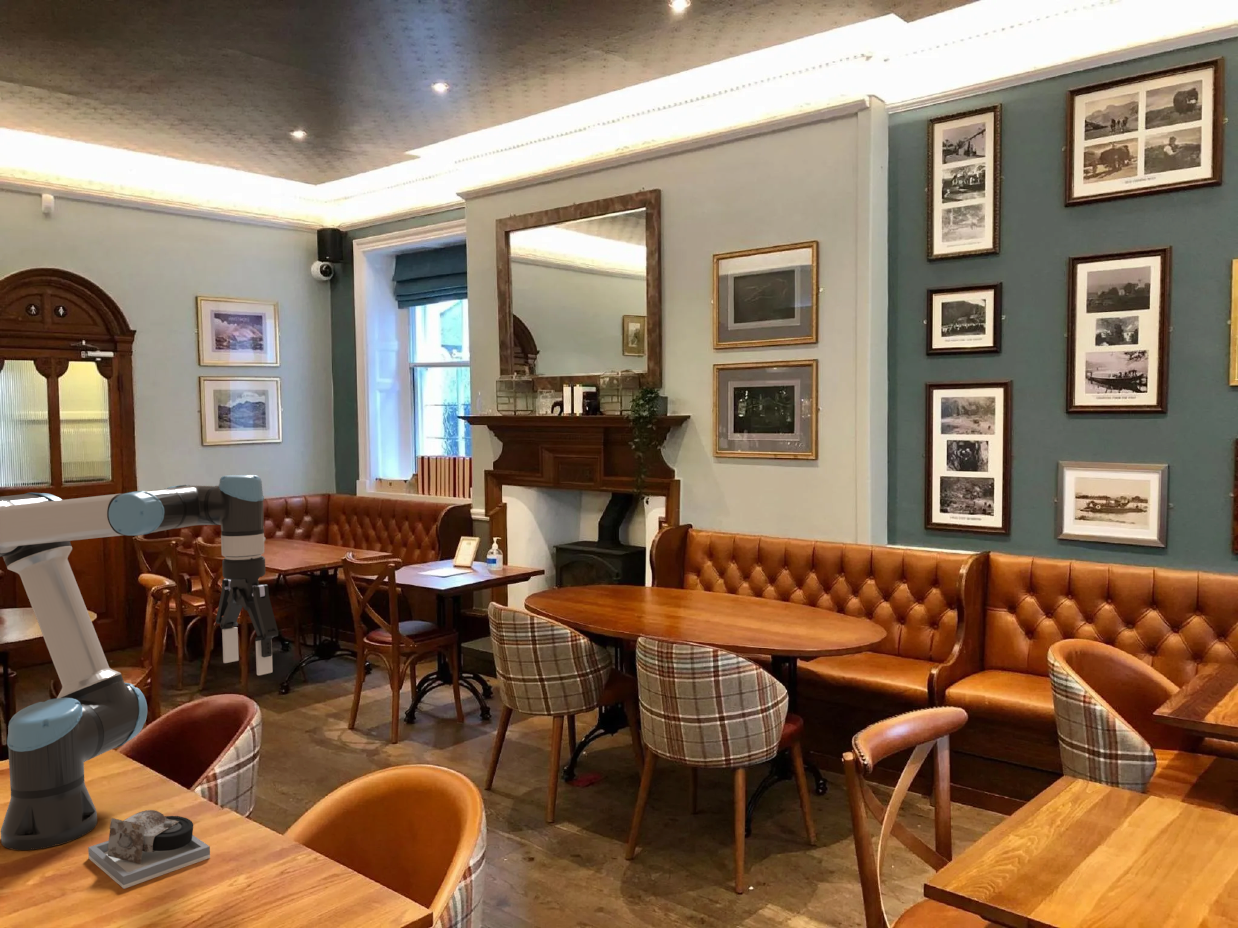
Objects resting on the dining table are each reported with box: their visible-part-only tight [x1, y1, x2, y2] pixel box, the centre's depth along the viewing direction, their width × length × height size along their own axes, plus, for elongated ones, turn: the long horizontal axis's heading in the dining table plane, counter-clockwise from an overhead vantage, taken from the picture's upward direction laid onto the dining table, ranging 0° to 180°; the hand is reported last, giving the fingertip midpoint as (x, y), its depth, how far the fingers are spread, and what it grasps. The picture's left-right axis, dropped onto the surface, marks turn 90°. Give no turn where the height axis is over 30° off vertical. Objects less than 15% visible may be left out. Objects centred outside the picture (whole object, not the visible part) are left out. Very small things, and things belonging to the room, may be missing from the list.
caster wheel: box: [107, 809, 194, 864], centre depth 161 cm, size 7×11×10 cm
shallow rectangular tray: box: [87, 834, 211, 889], centre depth 160 cm, size 16×14×2 cm
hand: (247, 667), depth 175 cm, fingers open, 13 cm apart
